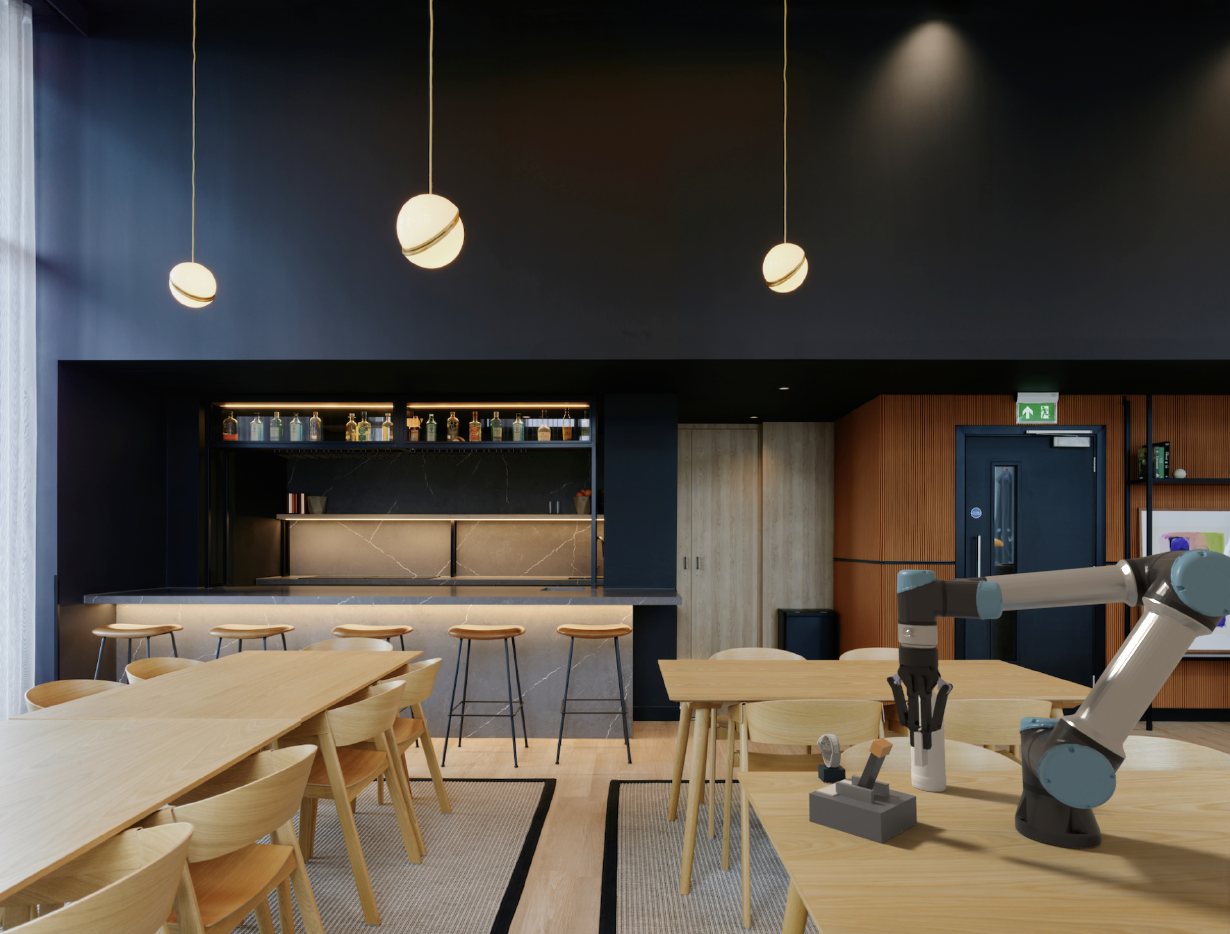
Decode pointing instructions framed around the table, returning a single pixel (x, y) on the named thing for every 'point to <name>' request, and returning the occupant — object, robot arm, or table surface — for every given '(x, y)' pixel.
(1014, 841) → the table surface
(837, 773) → the watch
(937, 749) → the bottle
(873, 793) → the box
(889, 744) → the lever
